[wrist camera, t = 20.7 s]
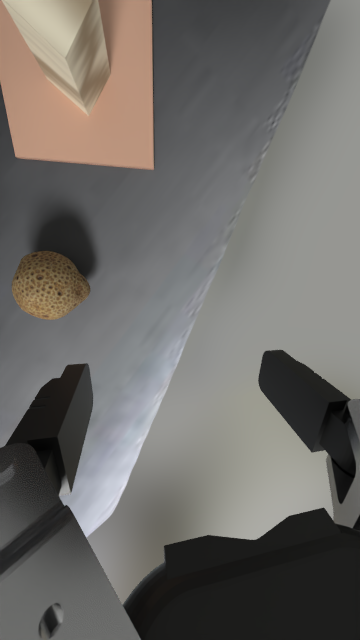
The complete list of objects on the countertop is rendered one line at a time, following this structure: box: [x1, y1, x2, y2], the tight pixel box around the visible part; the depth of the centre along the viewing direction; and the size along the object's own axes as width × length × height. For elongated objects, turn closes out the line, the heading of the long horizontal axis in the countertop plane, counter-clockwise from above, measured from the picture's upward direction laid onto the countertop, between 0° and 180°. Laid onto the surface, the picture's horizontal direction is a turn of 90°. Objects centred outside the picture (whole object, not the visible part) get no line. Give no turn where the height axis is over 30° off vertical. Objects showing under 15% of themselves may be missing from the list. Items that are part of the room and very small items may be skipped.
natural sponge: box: [12, 251, 90, 320], centre depth 30 cm, size 9×9×10 cm
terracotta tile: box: [0, 0, 154, 170], centre depth 27 cm, size 18×18×1 cm
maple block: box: [2, 0, 111, 116], centre depth 22 cm, size 5×5×10 cm
